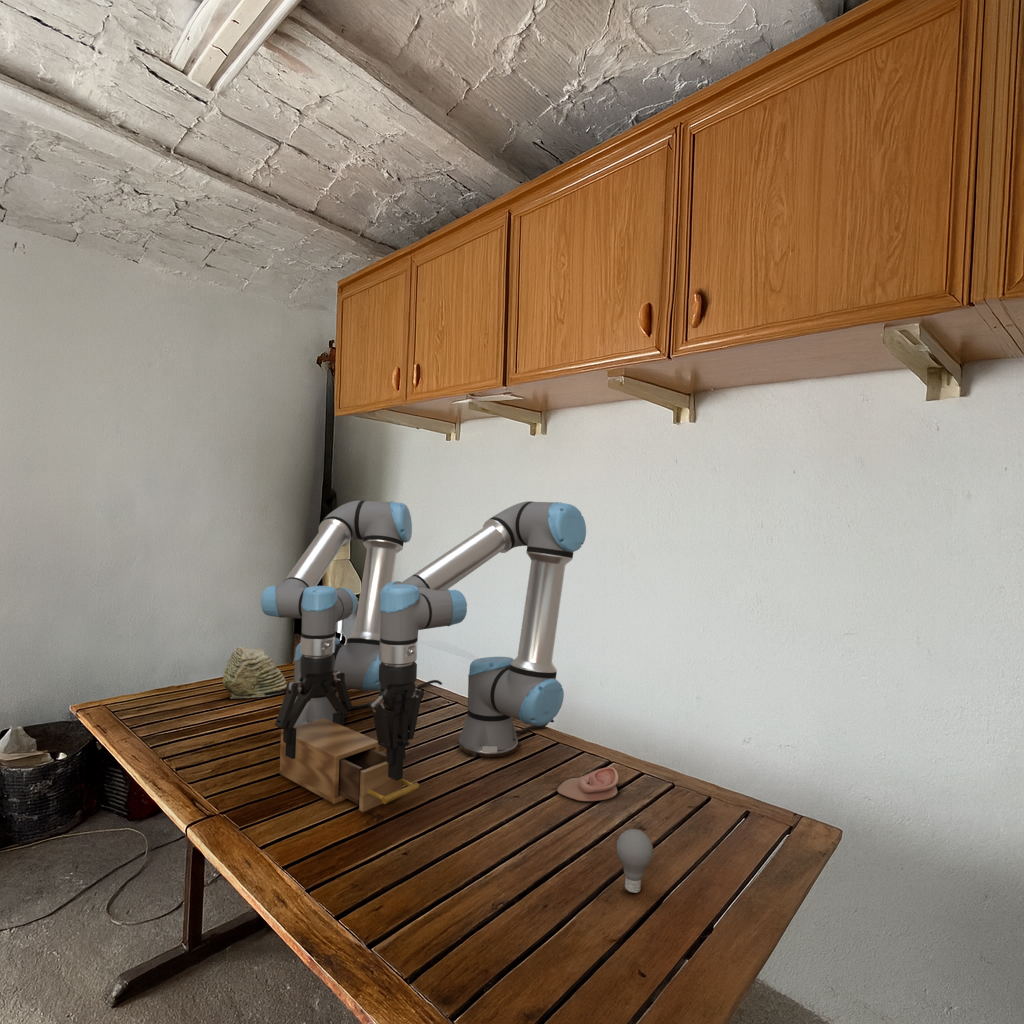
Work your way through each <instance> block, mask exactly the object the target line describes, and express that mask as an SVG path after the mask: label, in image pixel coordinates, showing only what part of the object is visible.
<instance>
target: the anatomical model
mask: <svg viewBox="0 0 1024 1024" xmlns="http://www.w3.org/2000/svg"><path fill="white" fill-rule="evenodd" d="M618 783H619V773H618V772H617V770H616V769H615V768H614V767H612V766H607V767H602V768H599V769H596V770H593V771H591V772H589V773H587V774H584V775H581V776H579V777H572V778H568V779H565V780H564V781H563V782H562V783H561V784H560V785H559V786H558V787H557V789H556V792H557V793H558V794H560V795H562V796H564V797H566V798H569V799H571V800H575V801H580V802H597V801H604V800H608V799H612V798H613V797H615V796H616V795H617V794H618V788H617V785H618Z"/></svg>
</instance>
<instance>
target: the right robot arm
mask: <svg viewBox="0 0 1024 1024" xmlns="http://www.w3.org/2000/svg"><path fill="white" fill-rule="evenodd" d="M586 537H587V524H586V521H585V518H584V516H583V515H582V512H581V511H580V509H579V508H578V507H577V506H576V505H573V504H572V503H565V502H558V501H556V502H555V501H554V502H553V501H532V500H530V501H527V500H526V501H522V502H518V503H515V504H513V505H511V506H509V507H507V508H505V509H503V510H501V511H500V512H498V513H496V514H494V515H493V516H492V517H489V518H488V519H487V520H486V521H484V523H483V524H482V528H481V529H479V530H478V531H476V532H475V533H473V534H472V535H470V536H468V537H467V538H466V539H464V540H463V541H461V542H460V543H458V544H457V545H455V546H454V547H452V548H451V549H450V550H448V551H447V552H445V553H443V554H442V555H441V556H439V557H438V558H436V559H434V560H433V561H431V562H430V563H429V564H427V565H425V566H423V568H421V569H420V570H418V571H416V572H415V573H414V574H412V575H411V576H409V577H407V578H406V579H404V580H402V581H399V580H397V581H393V582H389V583H387V584H386V585H385V586H384V587H383V588H382V590H381V592H380V596H379V601H380V651H379V660H380V661H381V663H380V665H379V681H380V684H381V688H380V690H378V697H377V698H376V699H375V702H374V701H369V702H368V703H369V706H368V708H369V709H370V711H371V713H372V717H373V718H372V719H373V722H374V729H375V734H376V740H377V741H378V745H379V747H382V748H385V749H386V753H385V754H386V761H387V763H388V777H390V778H392V779H394V780H396V781H398V780H400V779H404V777H403V776H404V775H403V774H404V760H406V747H409V746H410V743H411V742H410V741H409V740H413V738H415V737H414V736H415V732H416V727H417V722H418V719H419V718H418V717H419V712H420V706H421V702H422V700H423V698H424V695H425V691H424V690H421V689H416V687H417V686H416V683H415V682H416V681H417V680H418V679H417V678H418V676H417V675H418V664H417V662H416V661H417V660H418V640H419V631H421V630H429V629H435V628H443V627H450V626H454V625H458V624H460V623H462V622H463V621H464V620H465V619H466V616H467V613H468V608H467V607H468V603H467V599H466V597H465V595H464V594H463V593H462V592H461V591H460V590H458V589H450V588H452V587H453V586H455V585H456V584H458V583H459V582H460V581H462V580H463V579H464V578H466V577H467V576H469V575H470V574H472V573H473V572H474V571H476V570H477V569H478V568H480V567H481V566H483V565H484V564H485V563H487V562H489V561H490V560H491V559H493V558H494V557H495V556H497V555H498V554H499V553H500V554H506V553H508V552H510V550H512V549H515V548H518V547H526V555H527V556H528V557H529V559H530V568H529V574H528V581H527V587H526V593H525V594H526V596H525V602H524V609H523V616H522V622H521V630H520V635H519V636H520V637H519V643H518V649H517V650H518V651H517V656H516V657H515V658H513V657H510V656H486V657H480V658H476V659H474V660H472V661H471V663H470V664H469V671H468V675H467V677H468V678H467V679H468V681H467V714H466V715H467V716H466V719H465V722H464V723H463V727H462V730H461V733H460V735H459V737H458V748H459V749H460V750H461V751H462V752H463V753H465V754H467V755H469V756H472V757H477V758H485V759H498V758H499V759H500V758H504V757H507V756H512V755H513V754H514V753H515V752H517V751H518V746H519V739H518V735H521V734H524V733H526V732H528V731H531V730H538V729H539V730H540V729H543V728H546V726H548V725H549V723H555V720H554V718H556V717H557V715H558V714H559V712H560V710H561V708H562V706H563V703H564V697H565V691H564V688H563V684H562V683H561V682H560V681H559V680H558V679H557V673H558V669H557V667H556V666H555V665H554V663H553V657H554V651H555V644H556V643H555V642H556V637H557V636H556V635H557V630H558V623H559V615H560V614H559V613H560V607H561V601H562V600H561V599H562V592H563V586H564V578H565V572H566V566H567V564H569V563H570V562H571V561H573V559H574V558H573V557H574V553H575V552H577V551H578V550H580V549H581V548H582V545H584V543H585V541H586ZM513 719H515V720H518V721H519V722H521V723H523V724H525V725H530V726H527V727H525V728H523V729H519V730H518V729H517V730H516V727H515V724H514V720H513Z"/></svg>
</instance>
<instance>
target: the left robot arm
mask: <svg viewBox="0 0 1024 1024" xmlns="http://www.w3.org/2000/svg"><path fill="white" fill-rule="evenodd" d="M317 530H318V533H317V534H316V536H315V537H314V539H313V540H312V541H311V542H310V544H309V545H308V547H307V548H306V550H304V553H303V554H302V555H301V556H300V558H299V559H298V561H297V562H296V564H295V565H294V567H293V568H292V569H291V570H290V572H289V573H288V574H287V576H286V577H285V579H284V580H283V582H281V584H280V585H277V584H276V585H269V586H267V587H265V589H264V590H263V592H262V593H261V597H260V607H261V610H262V613H263V614H265V615H266V616H268V617H275V618H279V619H281V618H282V619H283V618H286V619H301V634H300V642H299V643H298V644H297V645H296V647H295V652H294V653H295V654H294V659H293V661H294V672H293V680H288V681H287V682H286V685H287V687H286V691H285V695H284V697H283V700H282V703H281V706H280V708H279V712H278V714H277V717H276V719H275V723H274V726H275V727H277V728H280V729H281V730H283V742H284V743H286V756H288V757H289V758H291V759H294V758H295V753H296V728H294V727H295V726H298V725H302V724H305V723H309V722H313V721H316V720H320V719H323V718H325V719H327V720H330V721H332V722H334V723H337V724H339V725H342V726H344V727H345V720H346V719H345V717H346V716H347V715H349V711H351V710H357V709H364V708H367V707H368V708H369V703H370V702H367V703H364V704H358V705H357V704H356V705H353V704H352V699H351V697H350V694H349V691H348V690H357V691H364V692H368V691H375V692H377V691H380V688H381V684H380V681H379V665H380V663H381V661H380V660H379V651H380V601H379V596H380V592H381V590H382V588H383V587H384V586H385V585H386V584H387V583H389V582H394V575H395V568H396V561H397V556H398V553H400V552H401V551H402V550H403V549H404V544H406V543H409V542H410V541H411V539H412V535H413V521H412V514H411V512H410V509H409V507H408V505H406V504H405V503H403V502H395V501H379V500H377V501H376V500H353V501H349V502H346V503H343V504H341V505H340V506H338V507H336V508H335V509H334V510H332V511H331V512H330V513H328V514H327V515H326V516H325V517H324V518H323V520H322V521H321V522H320V524H319V525H318V529H317ZM353 540H361V541H362V545H363V546H364V548H365V549H366V554H365V562H364V567H363V574H362V580H361V586H360V592H359V598H357V596H356V594H355V592H354V591H353V590H351V589H349V588H347V587H337V588H335V586H329V585H318V584H319V583H320V581H321V579H322V578H323V577H324V575H325V574H326V572H327V571H328V569H329V567H330V565H331V564H332V563H333V561H334V559H335V558H336V557H337V554H338V553H339V552H340V550H341V549H342V547H345V546H347V545H348V544H349V543H350V542H351V541H353ZM356 610H357V611H356ZM355 612H356V617H355V624H354V628H353V629H354V630H353V632H352V633H351V634H350V635H349V636H347V638H346V644H341V641H340V639H339V638H338V637H336V631H337V630H336V628H337V623H338V622H340V621H343V620H346V619H348V618H350V617H351V616H352V615H353V614H355ZM430 684H438V685H441V686H442V685H443V682H442V681H440V680H438V679H432V680H428V681H426V682H424V683H421V684H419V685H417V686H416V689H418V690H420V688H423V687H425V686H428V685H430ZM375 701H376V700H375ZM375 701H373V702H375Z"/></svg>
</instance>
